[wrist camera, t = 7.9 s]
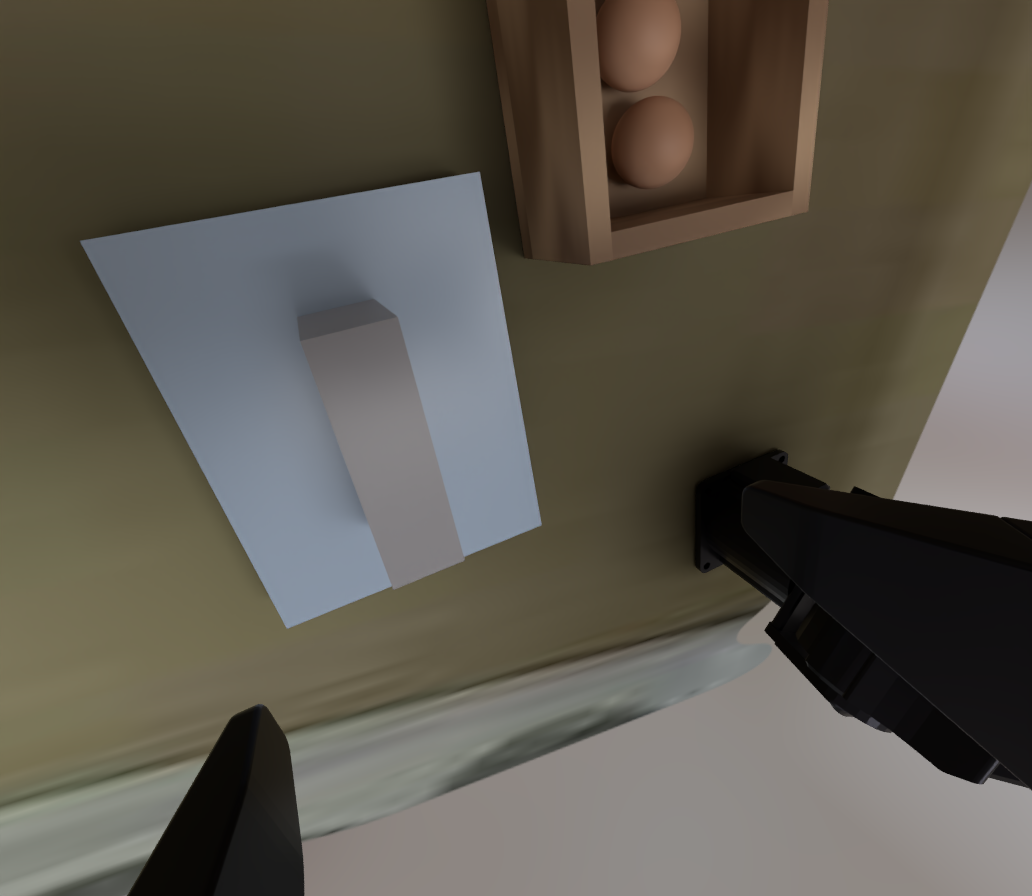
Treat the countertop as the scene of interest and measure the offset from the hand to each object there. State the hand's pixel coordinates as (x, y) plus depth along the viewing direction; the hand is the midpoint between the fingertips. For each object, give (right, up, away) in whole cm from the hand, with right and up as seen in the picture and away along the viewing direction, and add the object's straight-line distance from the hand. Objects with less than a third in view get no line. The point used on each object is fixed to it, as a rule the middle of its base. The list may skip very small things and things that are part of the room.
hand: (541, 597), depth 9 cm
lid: (-6, +4, +11) cm, 13 cm away
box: (+3, +17, +9) cm, 19 cm away
